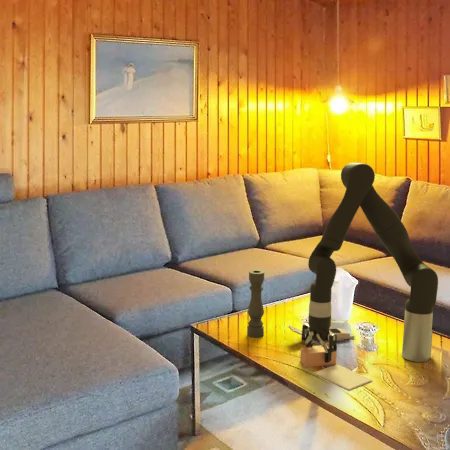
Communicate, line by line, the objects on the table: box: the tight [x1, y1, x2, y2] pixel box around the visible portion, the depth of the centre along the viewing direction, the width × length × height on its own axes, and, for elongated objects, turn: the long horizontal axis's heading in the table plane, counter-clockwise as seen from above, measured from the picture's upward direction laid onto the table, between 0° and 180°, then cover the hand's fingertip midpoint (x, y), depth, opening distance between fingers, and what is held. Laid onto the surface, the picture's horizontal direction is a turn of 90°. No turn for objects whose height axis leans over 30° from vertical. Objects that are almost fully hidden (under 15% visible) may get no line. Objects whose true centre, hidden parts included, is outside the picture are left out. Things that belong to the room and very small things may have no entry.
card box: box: [299, 345, 337, 368], centre depth 214 cm, size 11×5×5 cm, turn 103°
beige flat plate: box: [313, 363, 373, 391], centre depth 203 cm, size 11×15×1 cm
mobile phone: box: [288, 325, 355, 344], centre depth 235 cm, size 6×6×25 cm
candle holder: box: [246, 269, 265, 339], centre depth 236 cm, size 6×6×25 cm
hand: (318, 358), depth 214 cm, fingers open, 8 cm apart
